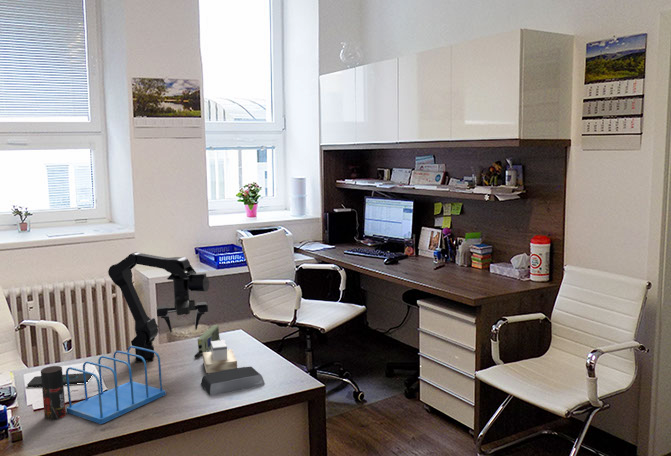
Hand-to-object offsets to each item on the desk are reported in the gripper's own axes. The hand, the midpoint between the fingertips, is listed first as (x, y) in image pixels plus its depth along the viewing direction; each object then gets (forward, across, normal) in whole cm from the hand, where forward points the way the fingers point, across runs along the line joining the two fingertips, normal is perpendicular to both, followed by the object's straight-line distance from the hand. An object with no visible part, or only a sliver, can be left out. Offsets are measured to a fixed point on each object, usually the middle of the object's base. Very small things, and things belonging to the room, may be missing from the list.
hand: (183, 330), depth 235 cm
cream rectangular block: (+12, +12, -11) cm, 20 cm away
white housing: (+8, +12, -11) cm, 18 cm away
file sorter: (+12, -23, -34) cm, 43 cm away
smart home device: (+13, -43, -6) cm, 46 cm away
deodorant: (+12, -41, -37) cm, 57 cm away
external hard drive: (+13, +14, -30) cm, 35 cm away
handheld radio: (+12, +9, +13) cm, 20 cm away
